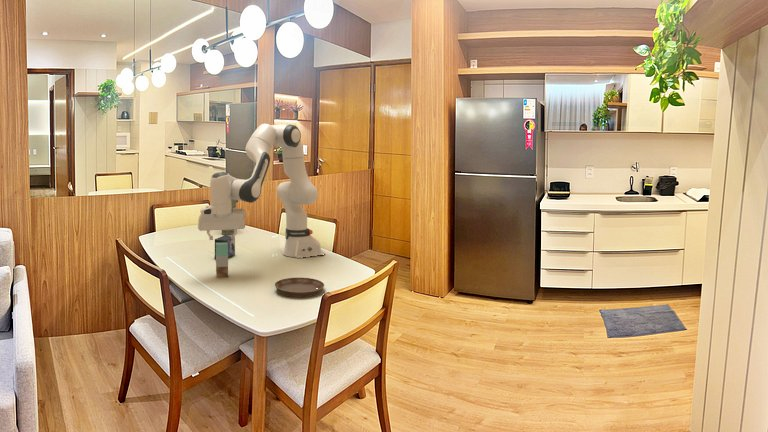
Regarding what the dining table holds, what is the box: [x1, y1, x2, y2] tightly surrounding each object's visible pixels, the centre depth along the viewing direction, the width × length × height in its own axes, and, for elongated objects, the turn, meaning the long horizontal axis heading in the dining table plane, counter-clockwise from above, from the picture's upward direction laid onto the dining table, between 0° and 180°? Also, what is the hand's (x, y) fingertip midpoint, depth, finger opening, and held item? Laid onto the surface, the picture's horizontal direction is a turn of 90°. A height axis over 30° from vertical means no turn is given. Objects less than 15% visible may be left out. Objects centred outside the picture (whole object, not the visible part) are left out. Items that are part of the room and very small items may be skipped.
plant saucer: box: [274, 277, 325, 298], centre depth 218 cm, size 21×21×3 cm
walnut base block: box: [215, 266, 229, 279], centre depth 234 cm, size 5×5×5 cm
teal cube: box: [216, 242, 228, 256], centre depth 232 cm, size 5×5×5 cm
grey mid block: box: [215, 256, 229, 268], centre depth 233 cm, size 5×5×5 cm
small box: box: [214, 235, 236, 260], centre depth 266 cm, size 11×6×10 cm, turn 169°
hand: (222, 239), depth 232 cm, fingers open, 8 cm apart
